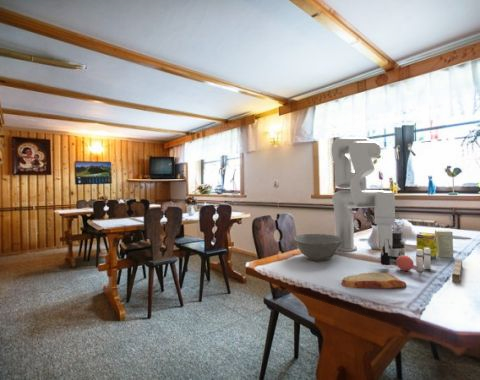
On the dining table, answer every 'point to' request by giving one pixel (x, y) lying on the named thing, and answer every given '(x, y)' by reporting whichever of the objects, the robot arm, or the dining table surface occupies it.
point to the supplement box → (427, 243)
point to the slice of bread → (373, 281)
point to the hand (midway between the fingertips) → (385, 264)
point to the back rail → (457, 271)
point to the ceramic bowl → (318, 245)
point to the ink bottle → (397, 245)
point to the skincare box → (444, 243)
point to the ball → (404, 262)
